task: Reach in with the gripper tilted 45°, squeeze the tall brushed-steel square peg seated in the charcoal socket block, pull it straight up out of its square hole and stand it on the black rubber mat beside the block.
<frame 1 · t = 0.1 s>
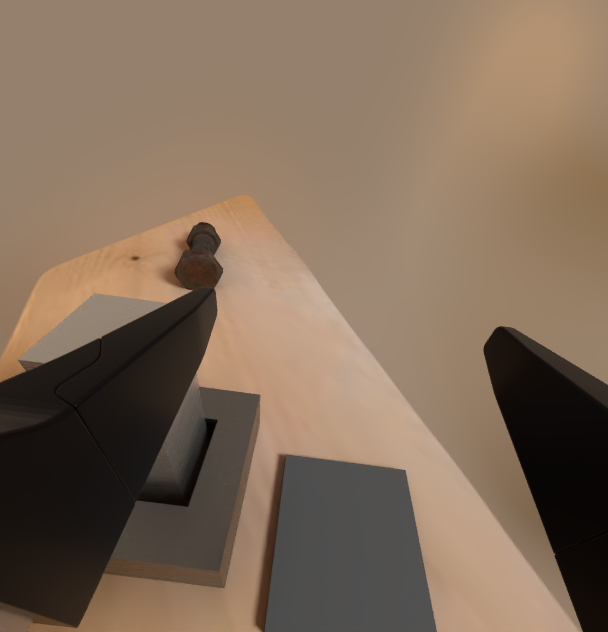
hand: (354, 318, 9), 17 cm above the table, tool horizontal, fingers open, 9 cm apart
rubber mat: (346, 538, 18), on the table
bolt: (205, 264, 44), on the table
socket block: (173, 480, 20), on the table
steel peg: (173, 481, 20), resting in socket block
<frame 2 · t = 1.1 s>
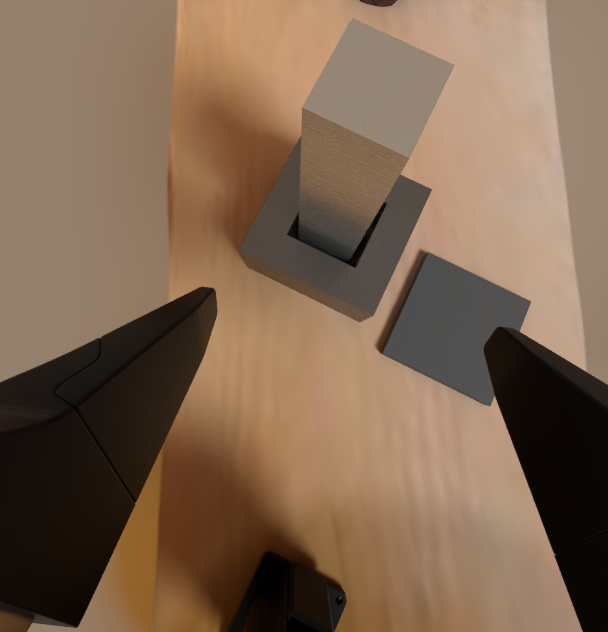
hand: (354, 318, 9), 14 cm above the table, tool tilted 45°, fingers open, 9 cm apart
rubber mat: (454, 327, 23), on the table
socket block: (330, 241, 24), on the table
steel peg: (330, 241, 24), resting in socket block
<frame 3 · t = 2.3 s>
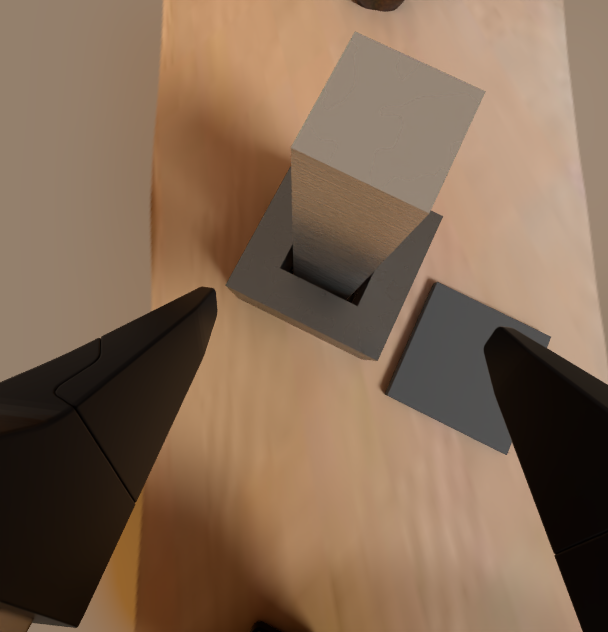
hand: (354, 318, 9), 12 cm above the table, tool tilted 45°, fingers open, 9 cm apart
rubber mat: (466, 365, 21), on the table
socket block: (329, 268, 22), on the table
steel peg: (329, 268, 22), resting in socket block
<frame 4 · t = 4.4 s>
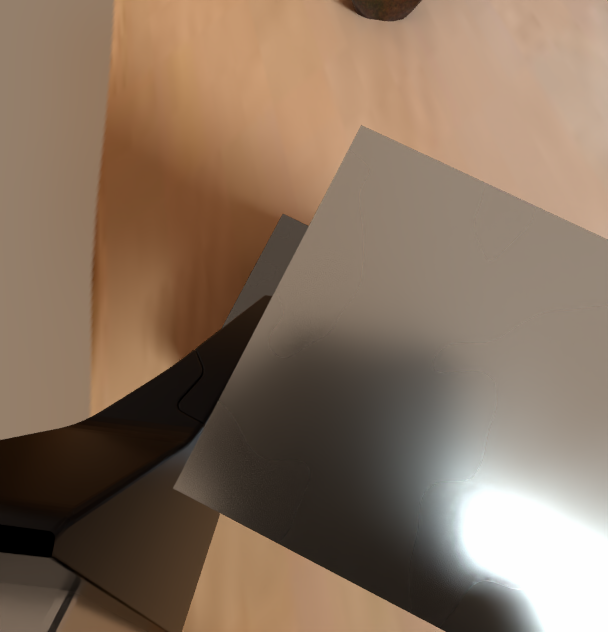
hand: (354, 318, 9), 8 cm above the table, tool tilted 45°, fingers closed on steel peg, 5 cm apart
socket block: (324, 357, 17), on the table
steel peg: (324, 357, 17), resting in socket block, touching gripper
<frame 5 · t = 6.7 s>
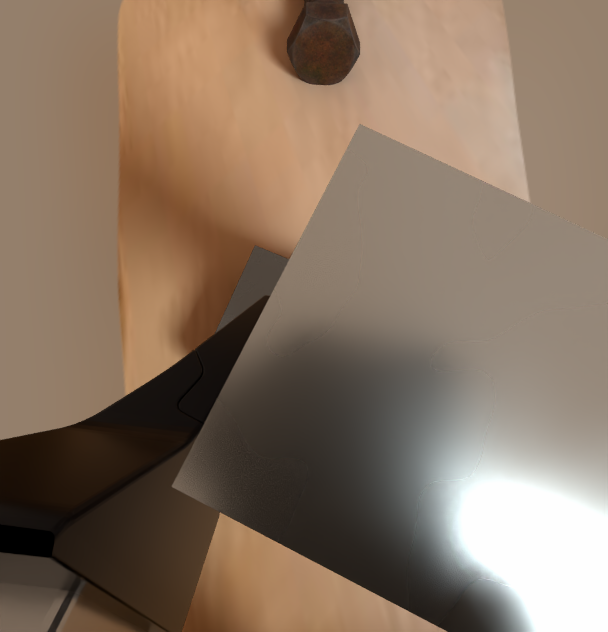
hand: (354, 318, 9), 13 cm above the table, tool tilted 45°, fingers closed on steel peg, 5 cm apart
bolt: (322, 15, 27), on the table
socket block: (295, 345, 22), on the table
steel peg: (324, 357, 17), point 6 cm above the table, touching gripper
when the fingers open (10 cm above the table, at t = 9.1 s): steel peg drops 1 cm, resting on rubber mat.
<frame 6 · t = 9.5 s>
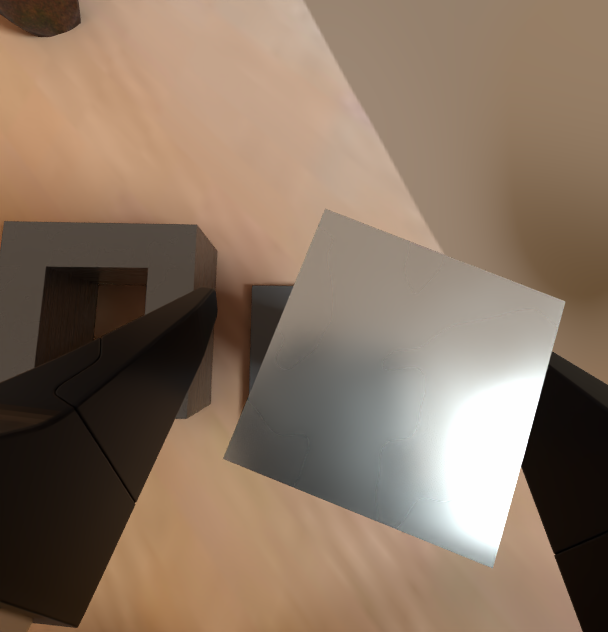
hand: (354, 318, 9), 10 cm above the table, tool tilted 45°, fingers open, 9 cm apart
rubber mat: (321, 356, 19), on the table
socket block: (135, 324, 19), on the table
steel peg: (320, 358, 18), point 1 cm above the table, touching rubber mat
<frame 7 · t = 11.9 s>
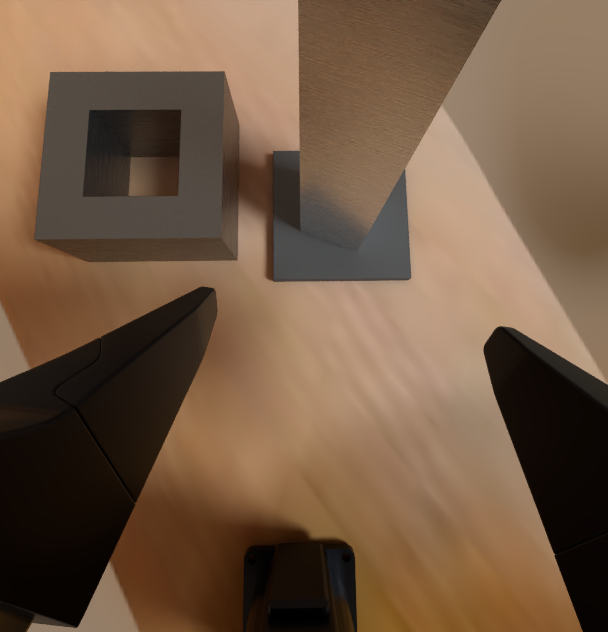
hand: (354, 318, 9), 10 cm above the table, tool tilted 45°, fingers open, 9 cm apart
rubber mat: (339, 217, 20), on the table
socket block: (166, 191, 20), on the table
steel peg: (338, 214, 19), point 1 cm above the table, touching rubber mat
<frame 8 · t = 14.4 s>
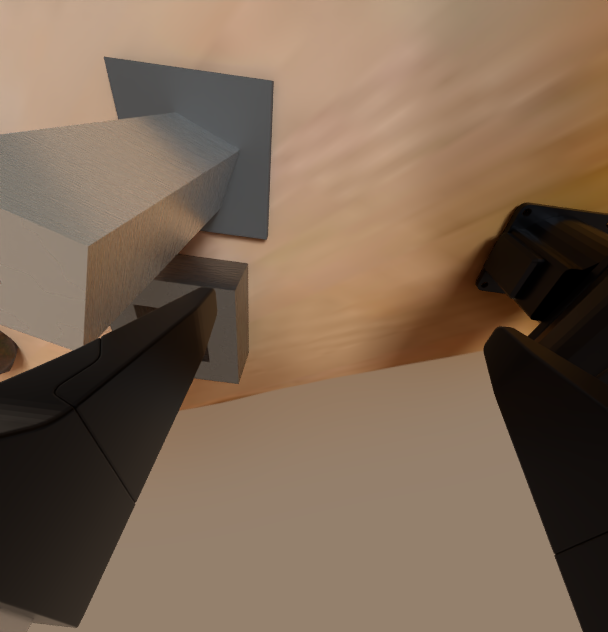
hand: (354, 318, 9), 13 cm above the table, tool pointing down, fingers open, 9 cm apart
rubber mat: (201, 160, 19), on the table
socket block: (193, 305, 26), on the table
steel peg: (199, 164, 18), point 1 cm above the table, touching rubber mat
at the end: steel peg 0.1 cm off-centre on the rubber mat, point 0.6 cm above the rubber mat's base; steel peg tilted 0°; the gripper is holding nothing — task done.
